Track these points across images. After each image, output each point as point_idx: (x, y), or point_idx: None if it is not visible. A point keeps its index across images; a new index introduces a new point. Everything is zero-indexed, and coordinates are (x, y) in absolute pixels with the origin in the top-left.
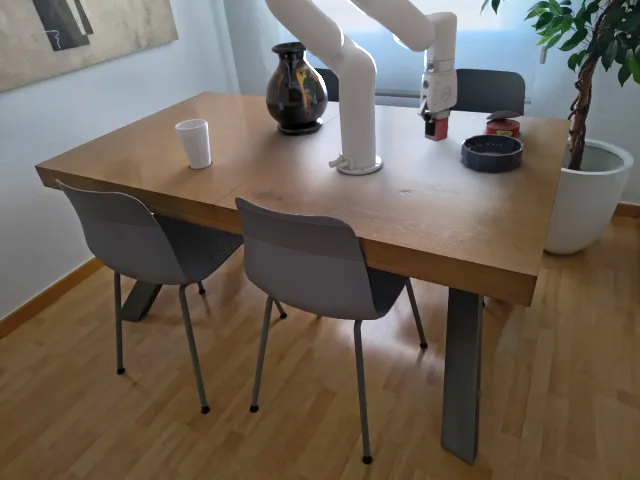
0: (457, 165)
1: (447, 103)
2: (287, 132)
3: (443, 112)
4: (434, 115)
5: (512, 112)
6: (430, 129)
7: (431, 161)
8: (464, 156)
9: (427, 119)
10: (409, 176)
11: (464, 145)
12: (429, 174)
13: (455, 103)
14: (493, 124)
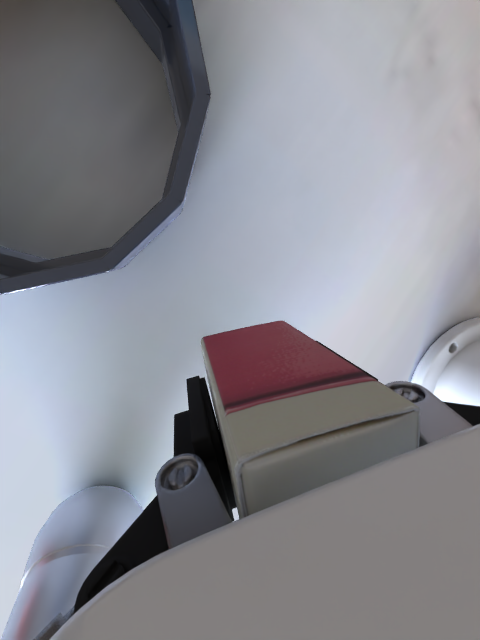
0: (214, 193)
1: (395, 586)
2: None
3: (332, 445)
4: (424, 428)
5: None
6: None
7: (277, 294)
8: (196, 156)
9: (462, 406)
10: (415, 222)
11: (172, 184)
12: (356, 191)
13: (77, 629)
14: None
